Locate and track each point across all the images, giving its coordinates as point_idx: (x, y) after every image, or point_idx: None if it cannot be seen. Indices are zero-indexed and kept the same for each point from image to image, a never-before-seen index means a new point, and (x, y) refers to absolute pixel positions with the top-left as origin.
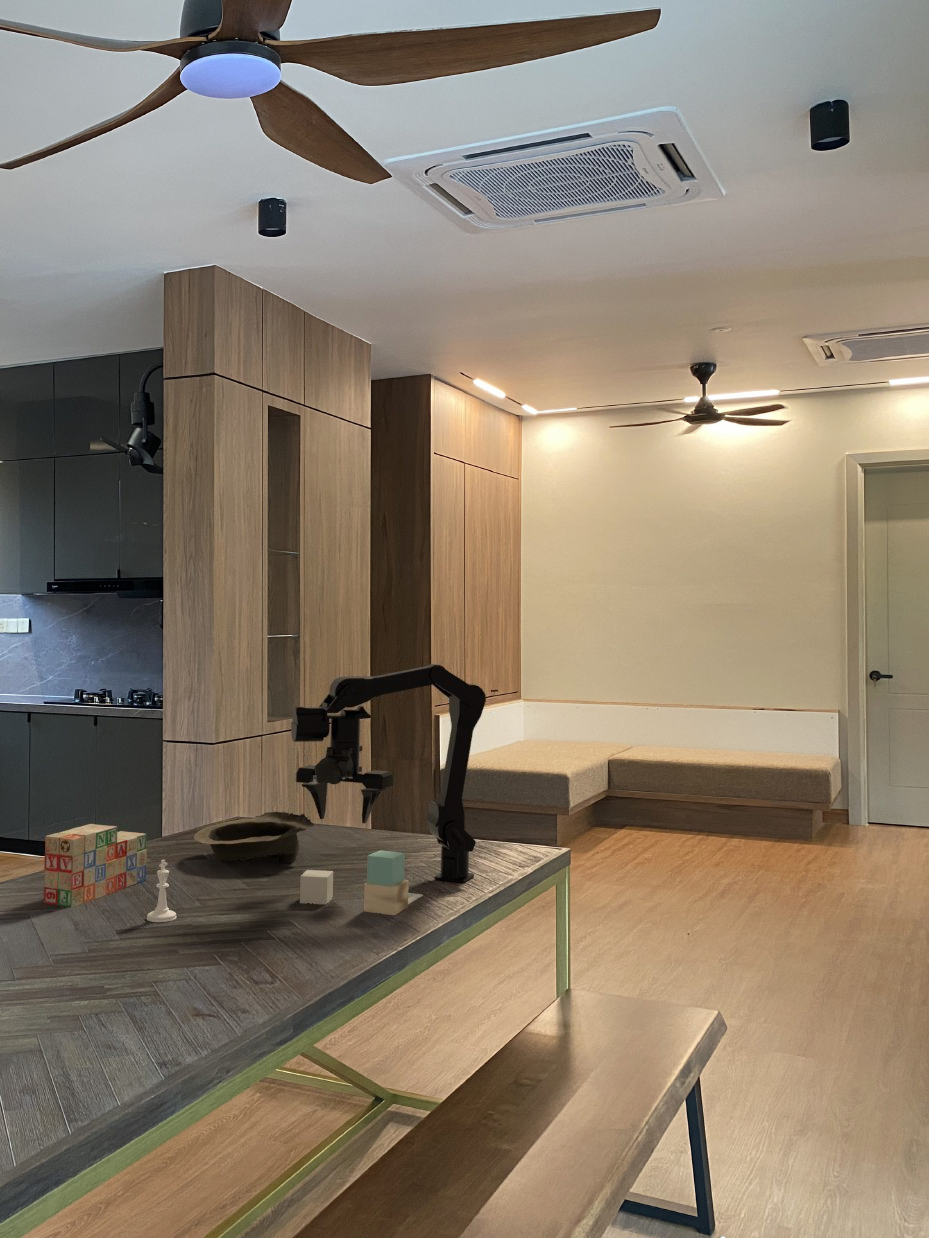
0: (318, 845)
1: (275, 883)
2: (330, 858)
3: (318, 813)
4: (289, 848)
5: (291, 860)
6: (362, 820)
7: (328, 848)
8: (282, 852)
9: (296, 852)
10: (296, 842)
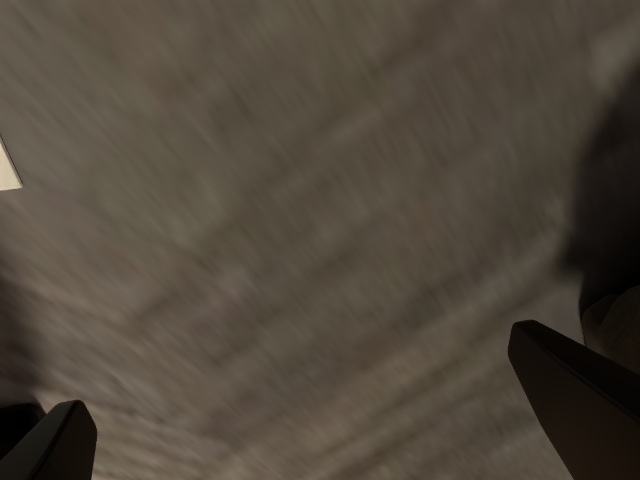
0: None
1: (539, 23)
2: (488, 403)
3: (576, 342)
4: (624, 320)
5: (588, 310)
6: (60, 417)
7: (535, 464)
8: (637, 286)
9: (593, 345)
10: None
